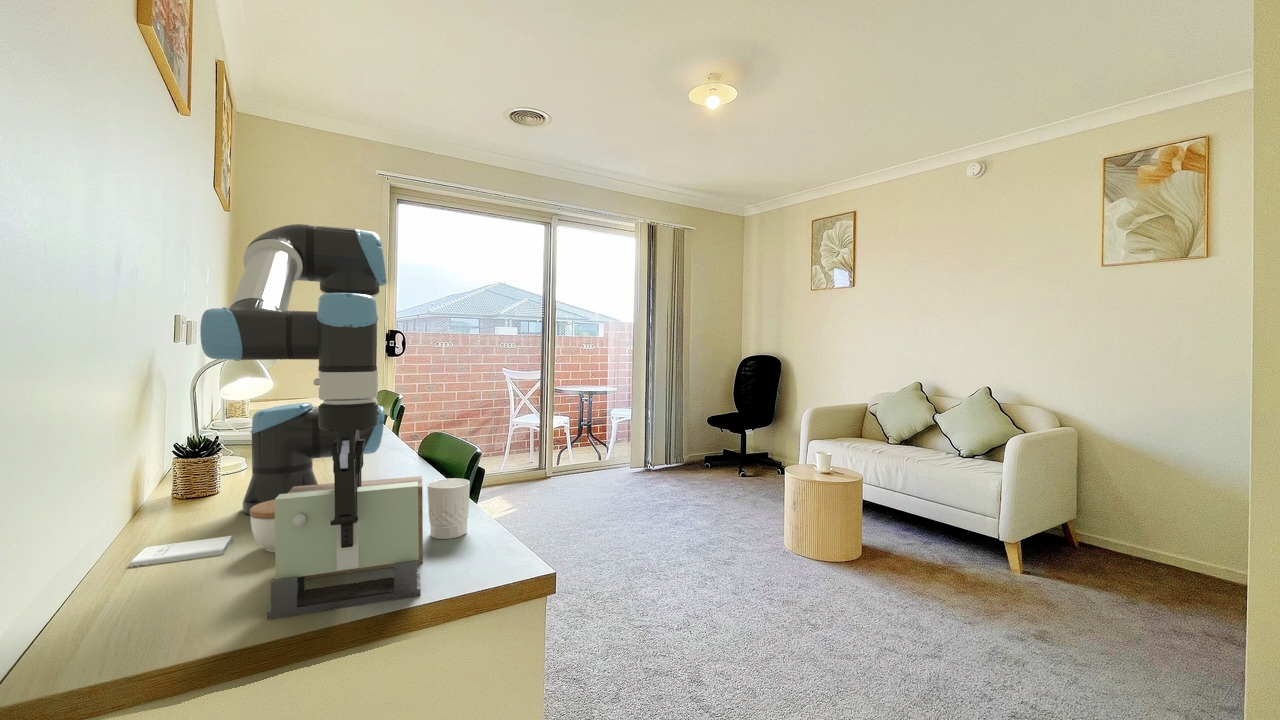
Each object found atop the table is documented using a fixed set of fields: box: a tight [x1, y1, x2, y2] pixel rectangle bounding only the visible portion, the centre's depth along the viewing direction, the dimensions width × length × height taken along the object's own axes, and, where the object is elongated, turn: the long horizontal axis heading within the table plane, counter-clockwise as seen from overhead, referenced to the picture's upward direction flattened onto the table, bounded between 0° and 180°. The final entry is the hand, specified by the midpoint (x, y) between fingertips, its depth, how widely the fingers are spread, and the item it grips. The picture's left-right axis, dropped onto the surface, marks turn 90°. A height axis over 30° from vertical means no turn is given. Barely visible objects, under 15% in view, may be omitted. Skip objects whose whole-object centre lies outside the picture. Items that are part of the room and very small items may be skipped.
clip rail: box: [266, 560, 422, 621], centre depth 79 cm, size 6×19×5 cm, turn 113°
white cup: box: [426, 477, 471, 540], centre depth 106 cm, size 8×8×10 cm
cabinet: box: [287, 475, 424, 580], centre depth 91 cm, size 8×20×13 cm, turn 113°
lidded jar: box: [249, 500, 275, 553], centre depth 99 cm, size 11×11×9 cm
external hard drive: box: [129, 535, 234, 568], centre depth 96 cm, size 2×8×12 cm
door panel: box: [274, 482, 419, 579], centre depth 78 cm, size 18×4×11 cm, turn 113°
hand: (349, 563), depth 78 cm, fingers closed on door panel, 3 cm apart
